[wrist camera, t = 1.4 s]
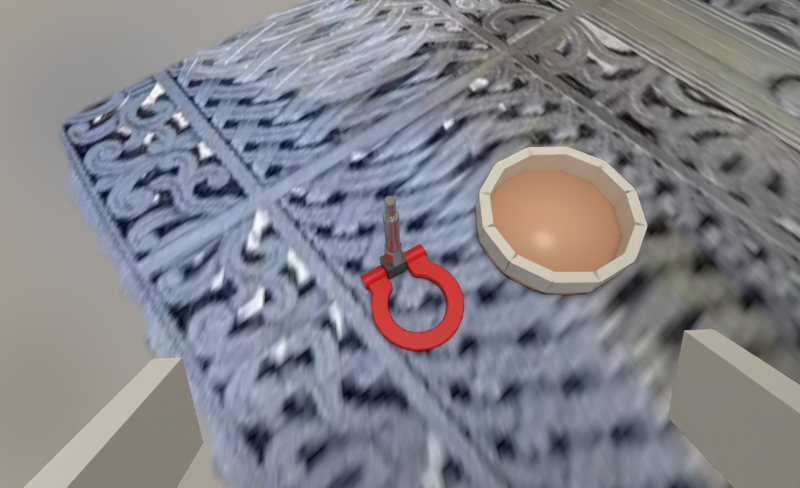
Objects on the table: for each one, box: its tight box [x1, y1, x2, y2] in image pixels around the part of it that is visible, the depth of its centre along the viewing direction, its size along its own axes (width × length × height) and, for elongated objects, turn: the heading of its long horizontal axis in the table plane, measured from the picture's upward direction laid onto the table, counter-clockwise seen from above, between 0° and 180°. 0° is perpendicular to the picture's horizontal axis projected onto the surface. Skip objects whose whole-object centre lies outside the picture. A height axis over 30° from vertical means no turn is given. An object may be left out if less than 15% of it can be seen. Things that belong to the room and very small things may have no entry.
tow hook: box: [361, 196, 464, 351], centre depth 31 cm, size 8×13×9 cm
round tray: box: [476, 147, 647, 295], centre depth 39 cm, size 15×15×3 cm
